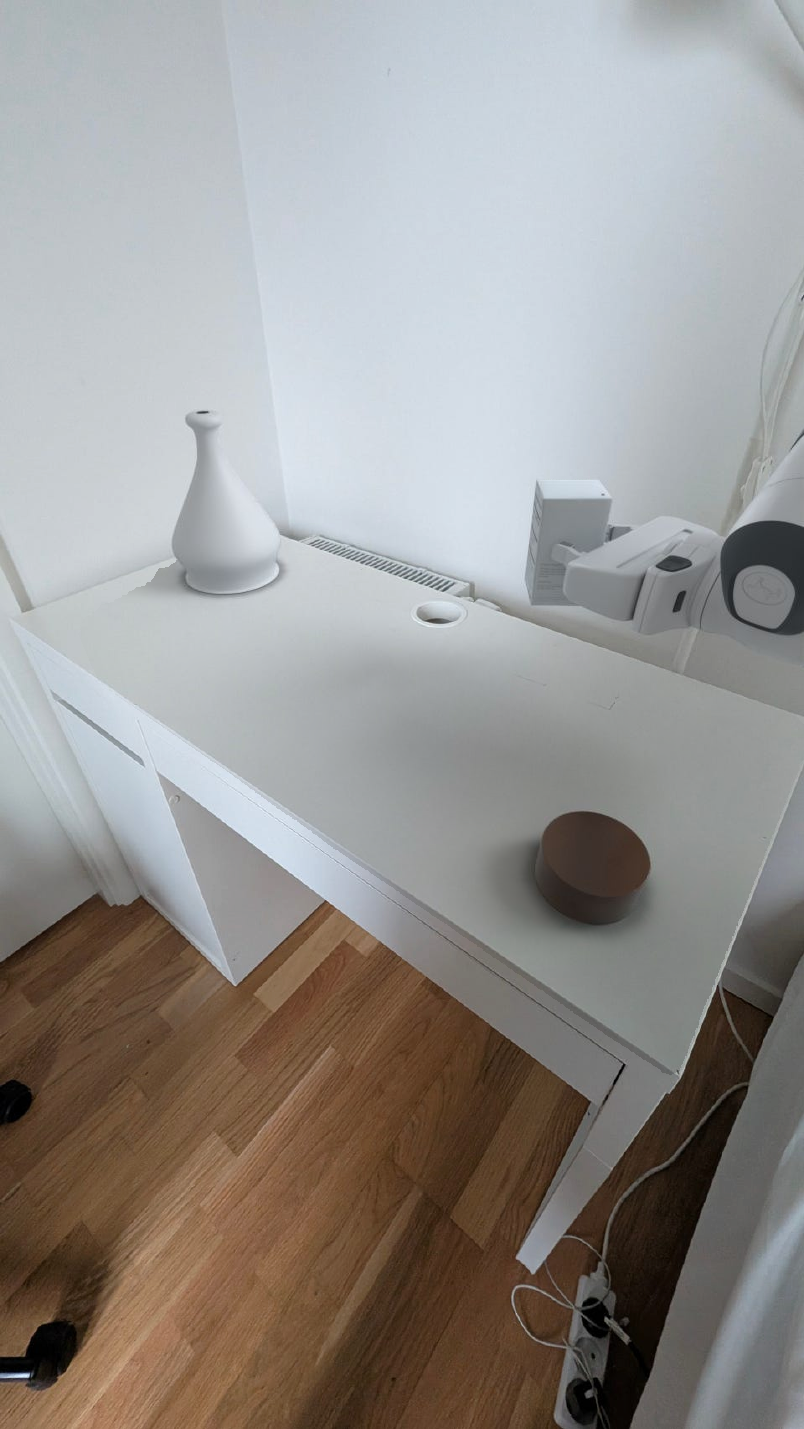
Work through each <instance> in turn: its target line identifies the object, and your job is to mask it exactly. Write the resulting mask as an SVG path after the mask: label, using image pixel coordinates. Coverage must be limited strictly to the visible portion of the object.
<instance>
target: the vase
mask: <svg viewBox="0 0 804 1429" xmlns="http://www.w3.org/2000/svg"><path fill="white" fill-rule="evenodd" d="M223 421H224V419H223V416H222V413H220V412H218V411H216V410H211V409H198V410H194V411H190V412H188V413H187V414H186V415H185V417H184V422H185V423H186V425H187V426H188V427H189V428H190V429H191V430H192V431H193V433H194V436H195V442H196V444H195V445H196V461H195V462H196V463H195V467H194V471H193V475H192V478H191V482H190V484H189V487H188V490H187V493H186V496H185V499H184V501H183V504H182V506H181V510H180V512H179V515H178V518H177V520H176V523H175V526H174V529H173V533H172V538H171V550H172V553H173V555H174V557H175V559H176V560H177V562H178V563H179V564H180V565H181V566H182V567H183V569H184V570H185V571H186V574H185V582H186V583H187V585H188V586H189V587H191V589H194V590H196V591H199V592H203V593H207V594H213V595H230V594H231V595H232V594H239V593H240V594H241V593H245V592H250V591H254V590H257V589H259V588H262V587H264V586H267V585H268V584H270V583H272V582H273V581H274V580H275V579H276V578H277V577H278V575H279V574H280V566H279V564H278V563H277V562H276V560H277V558H278V554H279V552H280V549H281V544H282V538H281V534H280V531H279V528H278V527H277V525H276V524H275V522H274V521H273V519H272V518H271V517H270V516H269V514H268V513H267V511H266V510H265V509H264V507H263V506H262V505H261V504H260V503H259V501H258V500H257V498H255V496H254V495H253V494H252V493H251V491H250V490H249V489H248V488H247V486H246V485H245V483H244V482H243V481H242V479H241V478H240V477H239V475H238V474H237V473H236V471H235V470H234V468H233V467H232V465H231V463H230V462H229V460H228V459H227V456H226V454H225V452H224V449H223V445H222V442H221V439H220V435H219V429H220V426H221V425H222V424H223Z"/></svg>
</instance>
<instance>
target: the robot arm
mask: <svg viewBox="0 0 804 1429" xmlns="http://www.w3.org/2000/svg"><path fill="white" fill-rule="evenodd" d="M574 546H575V545H573V544H571V543H567V542H565V541H563V542H560V543H558V544H556V545H554V546H553V549H552V555H551V557H552V559H553V560H554V561H557V562H559V563H562V564H564V565H565V567H566V573H565V578H564V584H563V593H564V594H565V596H566V597H567V599H569V600H570V601H571V602H573V603H575V604H577V605H579V606H578V607H582V608H584V609H586V610H588V611H591V612H593V613H596V614H598V615H599V616H603V617H605V618H608V619H611V620H615V621H618V622H631V621H632V622H631V625H630V628H631V630H632V631H634V632H636V633H638V634H640V635H643V636H654V635H657V634H661V633H664V632H667V631H672V630H679V629H680V630H683V629H684V630H685V629H688V628H690V627H691V628H693V629H696V630H699V631H701V632H704V633H709V634H715V635H716V634H717V635H723V636H727V637H729V638H731V639H733V640H735V641H737V642H738V643H740V644H741V645H742V646H743V647H745V648H746V649H749V650H750V651H754V652H757V653H759V654H762V655H765V656H767V657H770V658H773V659H776V660H779V661H782V662H785V663H789V664H790V665H791V664H792V665H795V666H798V667H802V668H804V428H802V430H801V432H800V434H799V435H798V437H797V438H796V440H795V441H794V443H793V444H792V446H791V447H790V449H789V451H788V453H787V455H786V456H785V457H784V459H783V460H782V461H781V462H780V464H779V465H778V466H777V468H776V469H775V471H773V473H772V474H771V475H770V476H769V478H768V479H767V481H766V482H765V483H764V485H763V486H762V487H761V488H760V490H759V491H758V492H757V494H756V495H755V496H754V498H753V499H752V500H751V502H750V503H749V504H748V506H747V507H746V508H745V510H744V511H743V512H742V513H741V515H740V516H739V518H738V519H737V520H736V522H735V523H734V524H733V526H732V527H731V529H730V530H729V532H728V535H727V536H722V535H720V534H718V533H717V532H716V531H714V530H712V529H710V528H708V527H705V526H703V525H700V524H697V523H694V522H691V521H689V520H685V519H684V518H680V517H676V516H672V515H661V516H658V517H656V518H654V519H652V520H650V521H648V522H646V523H644V524H642V525H636V524H616V523H613V522H610V521H608V526H607V531H606V536H605V541H604V545H603V546H601V547H599V548H597V549H595V550H593V551H591V552H589V553H586V552H581V553H579V552H577V551H576V550H575V549H574Z"/></svg>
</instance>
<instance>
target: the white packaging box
mask: <svg viewBox="0 0 804 1429" xmlns="http://www.w3.org/2000/svg"><path fill="white" fill-rule="evenodd" d="M533 495H534V496H533V504H532V514H531V521H530V522H531V523H530V532H529V540H528V548H527V556H526V564H525V571H524V583H525V587H526V590H527V595H528V600H529V603H530V606H533V607H534V606H546V607H549V606H550V607H551V606H552V607H555V606H557V607H580V606H579V605H577V604H575V603H573V602H571V601H570V600H569V599H567V597H566V596H565V594H564V593H563V584H564V578H565V573H566V567H565V565H564V564H562V563H559V562H557V561H554V560H553V559H552V557H551V555H552V549H553V546H554V545H556V544H558V543H560V542H563V541H565V542H567V543H571V544H573V545H575V546H574V549H575V550H576V551H577V552H579V553H581V552H586V553H589V552H591V551H593V550H595V549H597V548H599V547H601V546H603V545H605V542H604V541H605V536H606V531H607V526H608V522H610V515H611V510H612V505H613V501H614V499H613V497H612V496H611V494H610V493H609V492H608V490H607V489H606V487H605V486H604V485H603V483H602V482H601V480H599V479H597V478H596V479H539V478H538V479H537V478H536V479H535V486H534V494H533Z"/></svg>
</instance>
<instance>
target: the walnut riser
mask: <svg viewBox="0 0 804 1429" xmlns="http://www.w3.org/2000/svg"><path fill="white" fill-rule="evenodd" d="M651 862H652V861H651V857H650V854H649V851H648V848H647V847H646V845H645V844H644V842H643V840H642V839H641V838H640V836H638V834H637V833H636V832H635V831H634V830H632V829H631V828H630V827H629V826H627V825H626V824H624V823H623V822H622V821H619V820H618V819H616V818H614V817H611V816H609V815H606V814H603V813H600V812H595V811H586V810H576V811H570V812H566V813H563V814H561V815H559V816H557V817H555V818H554V819H552V820H551V821H550V822H549V823H548V824H547V825H546V827H545V828H544V829H543V833H542V836H541V840H540V844H539V848H538V851H537V856H536V860H535V863H534V878H535V881H536V885H537V887H538V888H539V891H540V893H541V894H542V896H543V898H544V899H545V900H546V901H547V902H548V903H549V904H550V905H551V906H552V907H553V908H554V909H556V910H557V911H558V912H560V913H561V914H563V915H564V916H566V917H568V918H570V919H571V920H574V921H577V922H581V923H584V924H589V925H608V924H613V923H616V922H619V921H621V920H623V919H624V918H626V917H628V916H629V915H630V913H632V911H633V910H634V909H635V907H636V905H637V903H638V901H639V899H640V896H641V895H642V893H643V890H644V888H645V886H646V884H647V881H648V879H649V876H650V874H651V868H652V867H651V864H652V863H651Z"/></svg>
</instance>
